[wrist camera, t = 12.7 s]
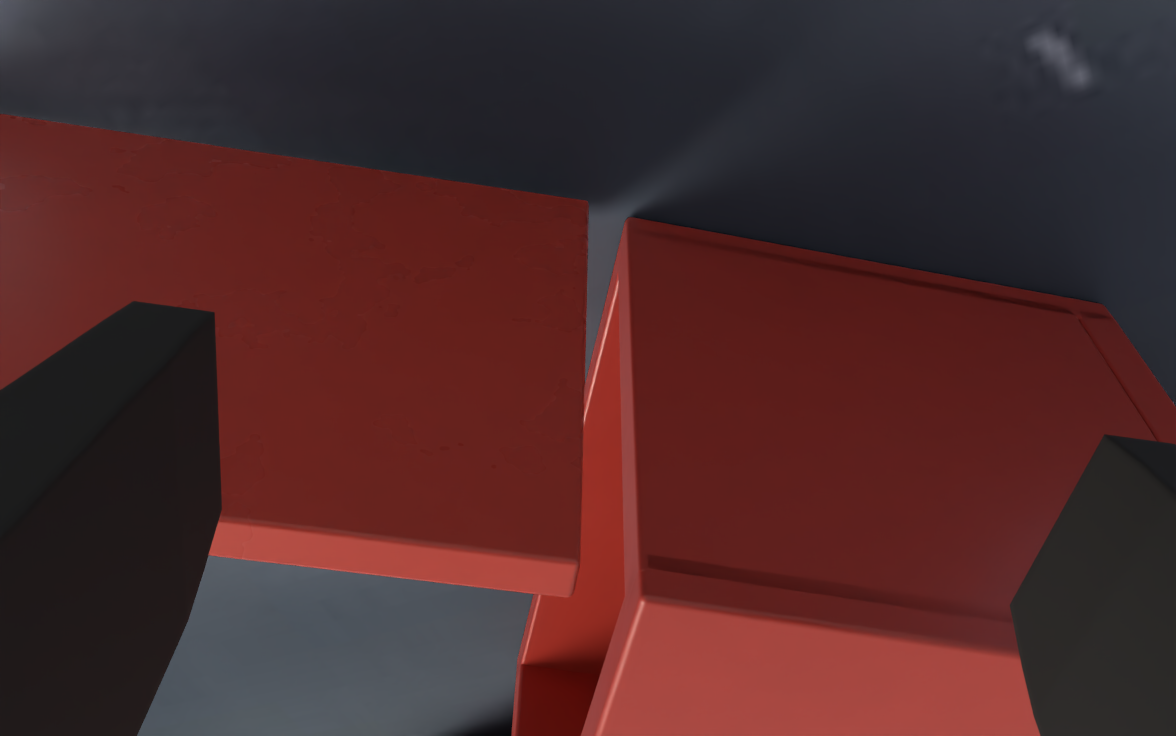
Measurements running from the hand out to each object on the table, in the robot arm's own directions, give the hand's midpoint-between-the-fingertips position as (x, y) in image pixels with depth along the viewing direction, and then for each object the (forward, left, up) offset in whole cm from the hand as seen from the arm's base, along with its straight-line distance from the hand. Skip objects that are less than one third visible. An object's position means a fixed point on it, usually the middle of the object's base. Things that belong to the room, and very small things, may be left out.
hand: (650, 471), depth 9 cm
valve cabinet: (+9, +5, -10) cm, 15 cm away
